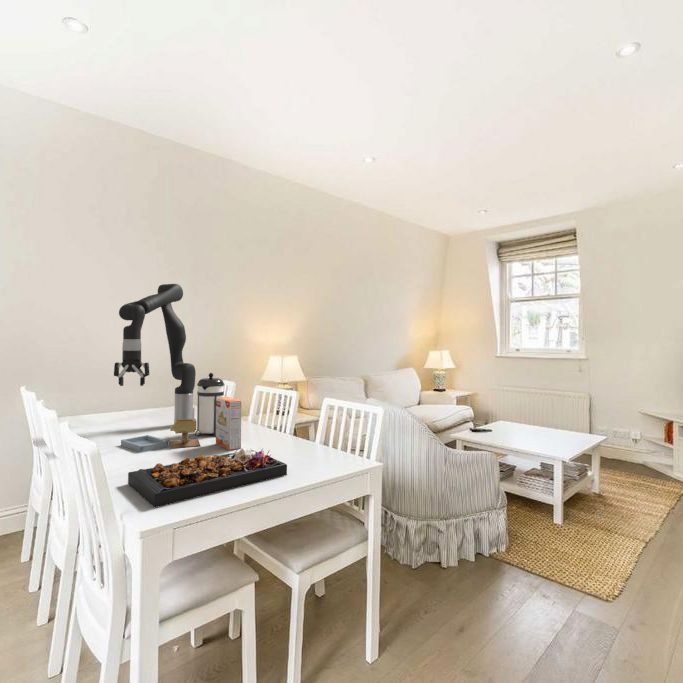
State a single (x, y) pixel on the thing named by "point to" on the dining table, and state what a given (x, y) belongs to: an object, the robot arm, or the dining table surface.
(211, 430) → the coffee press
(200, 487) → the food platter
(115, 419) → the dining table surface
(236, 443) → the cracker box
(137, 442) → the tray
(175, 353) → the robot arm
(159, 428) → the dining table surface
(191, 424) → the gold rectangular hollow block
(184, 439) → the brown piece
